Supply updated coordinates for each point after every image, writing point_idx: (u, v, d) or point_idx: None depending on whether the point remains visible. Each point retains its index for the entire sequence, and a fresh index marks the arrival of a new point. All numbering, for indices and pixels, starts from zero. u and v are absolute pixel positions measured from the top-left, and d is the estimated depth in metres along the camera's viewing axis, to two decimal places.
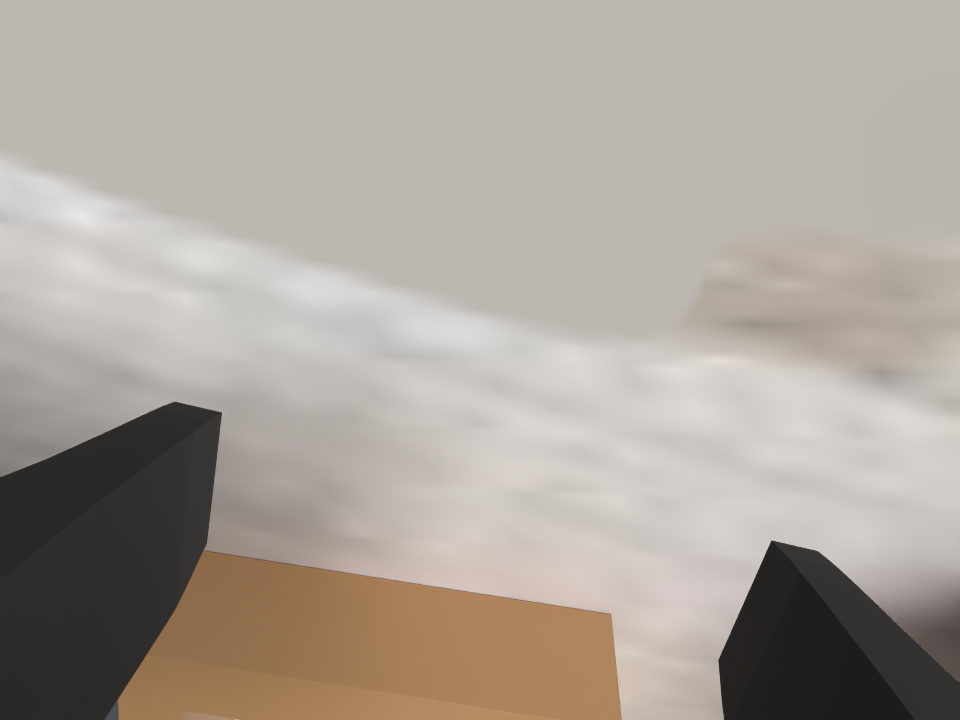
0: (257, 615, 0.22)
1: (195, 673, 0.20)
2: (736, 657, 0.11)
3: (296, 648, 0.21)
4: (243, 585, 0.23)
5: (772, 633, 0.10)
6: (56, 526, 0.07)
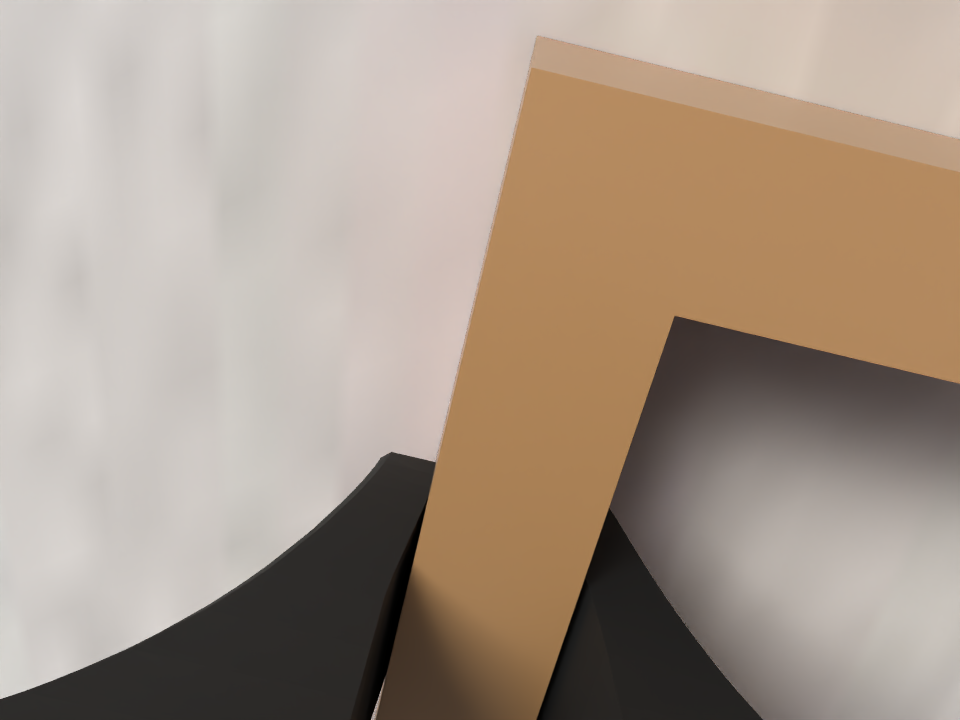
0: None
1: None
2: None
3: None
4: None
5: None
6: (374, 599, 0.07)
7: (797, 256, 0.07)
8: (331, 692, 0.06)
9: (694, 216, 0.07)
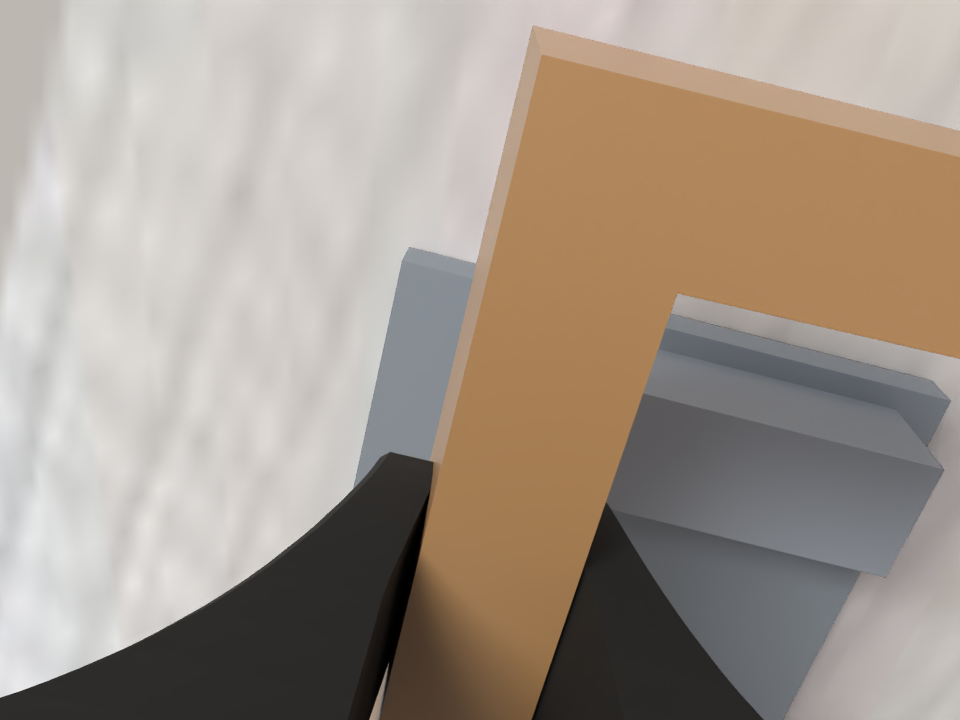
0: None
1: None
2: None
3: (377, 712, 0.11)
4: None
5: None
6: (372, 598, 0.07)
7: (794, 234, 0.07)
8: (329, 691, 0.06)
9: (696, 197, 0.07)
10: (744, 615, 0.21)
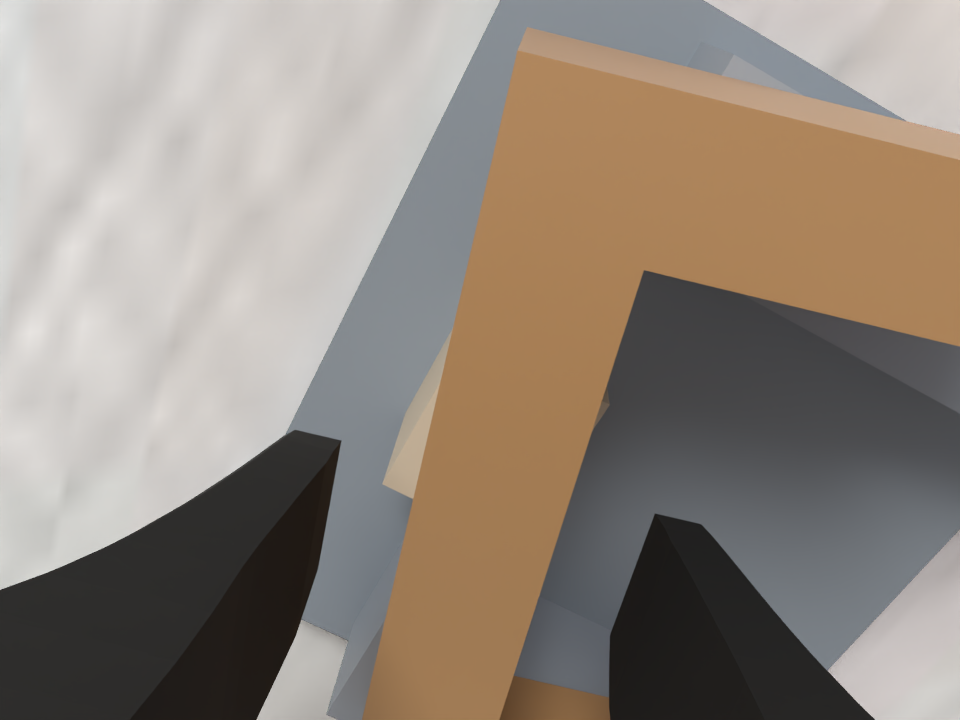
0: None
1: None
2: (622, 631, 0.11)
3: None
4: None
5: (648, 605, 0.10)
6: (232, 566, 0.07)
7: (750, 215, 0.08)
8: (153, 652, 0.06)
9: (660, 181, 0.08)
10: (829, 525, 0.17)
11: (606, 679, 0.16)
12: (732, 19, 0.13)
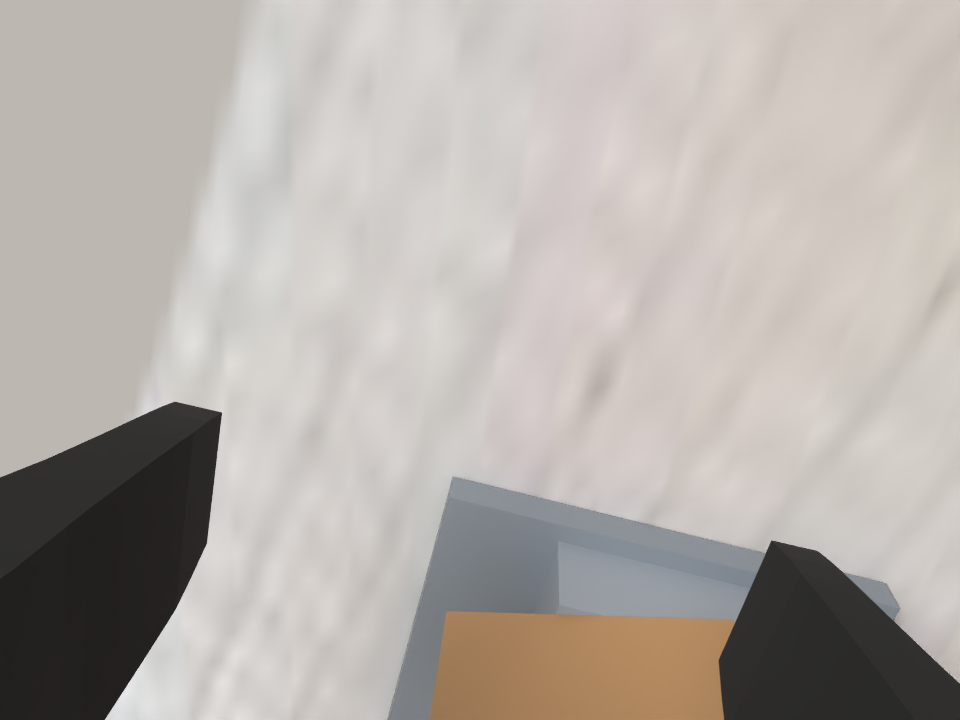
0: None
1: None
2: (736, 657, 0.11)
3: None
4: None
5: (772, 633, 0.10)
6: (56, 526, 0.07)
7: None
8: None
9: None
10: None
11: None
12: (571, 528, 0.22)
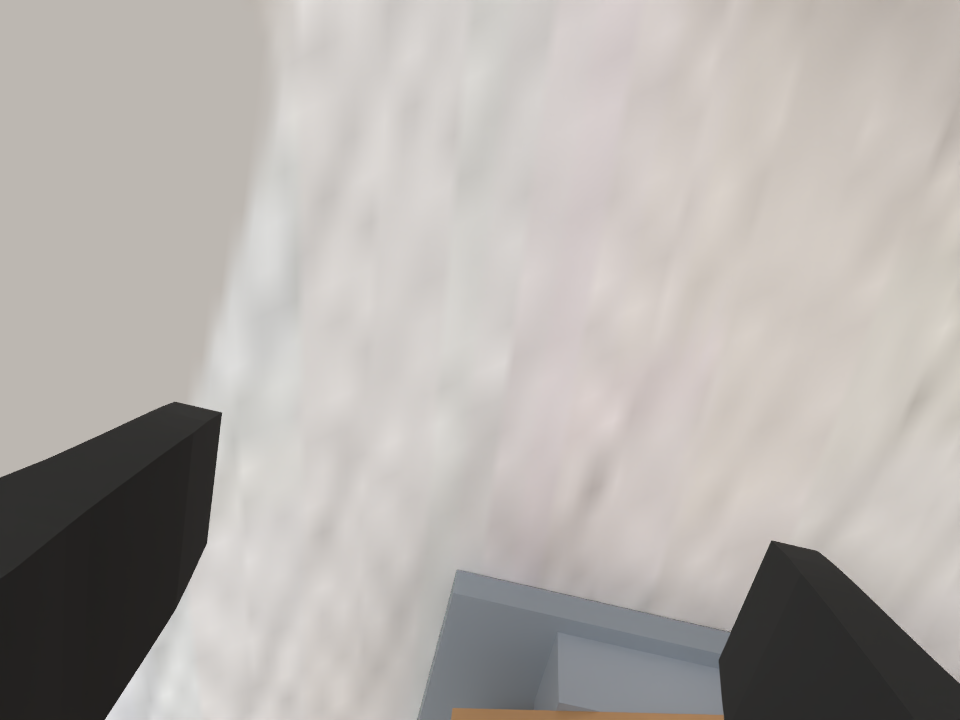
0: None
1: None
2: (736, 657, 0.11)
3: None
4: None
5: (772, 633, 0.10)
6: (56, 526, 0.07)
7: None
8: None
9: None
10: None
11: None
12: (570, 620, 0.23)
